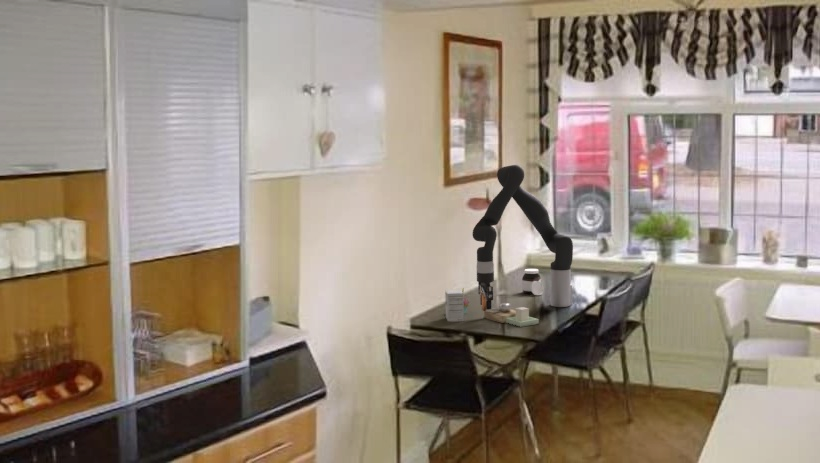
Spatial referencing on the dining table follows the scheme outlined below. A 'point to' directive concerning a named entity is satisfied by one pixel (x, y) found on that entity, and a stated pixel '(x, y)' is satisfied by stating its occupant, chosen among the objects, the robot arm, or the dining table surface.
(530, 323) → the tray
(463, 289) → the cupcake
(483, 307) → the crank
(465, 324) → the dining table surface
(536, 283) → the spread jar
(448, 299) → the supplement box
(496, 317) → the plinth
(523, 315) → the block
